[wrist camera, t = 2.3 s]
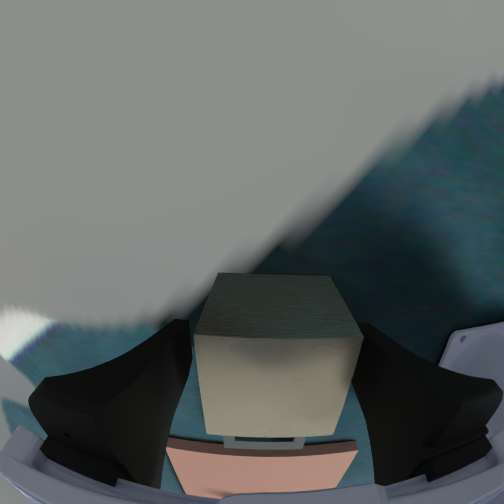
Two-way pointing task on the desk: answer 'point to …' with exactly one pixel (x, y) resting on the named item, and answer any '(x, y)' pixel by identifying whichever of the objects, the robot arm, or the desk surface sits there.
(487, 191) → the desk surface
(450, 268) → the desk surface
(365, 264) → the desk surface
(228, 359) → the beige block with handle
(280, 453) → the keeper board
